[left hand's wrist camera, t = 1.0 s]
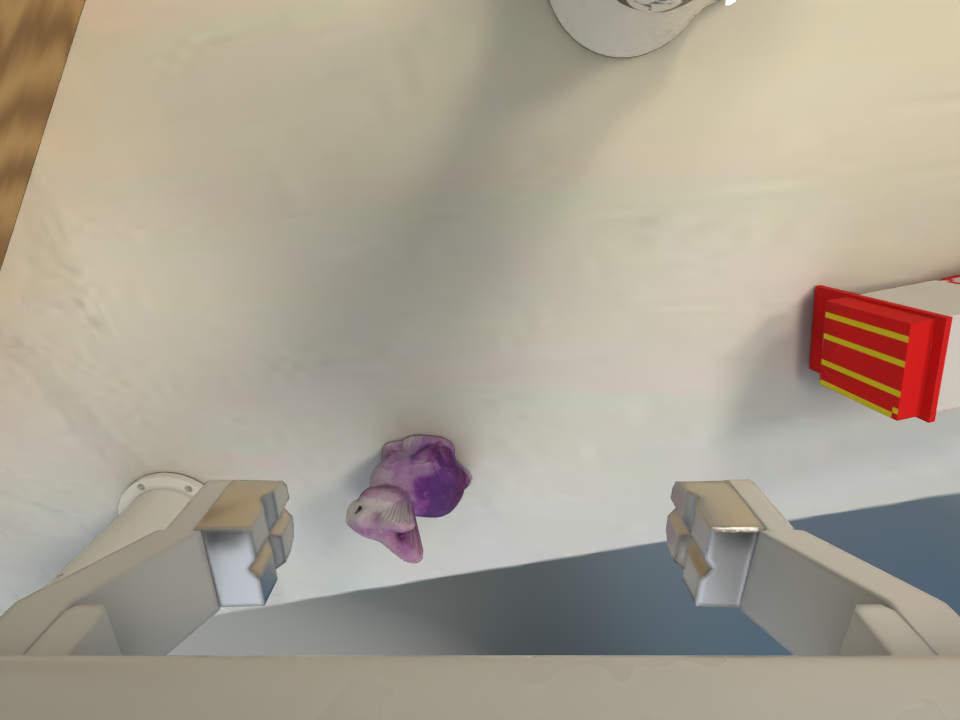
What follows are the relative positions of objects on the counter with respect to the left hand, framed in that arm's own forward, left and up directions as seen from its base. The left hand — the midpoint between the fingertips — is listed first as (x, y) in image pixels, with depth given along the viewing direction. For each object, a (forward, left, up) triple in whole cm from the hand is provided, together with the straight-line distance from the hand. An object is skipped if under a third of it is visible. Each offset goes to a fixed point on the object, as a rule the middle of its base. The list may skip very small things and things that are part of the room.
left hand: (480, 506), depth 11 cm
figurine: (+26, -3, -43) cm, 50 cm away
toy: (-1, +49, -43) cm, 65 cm away
